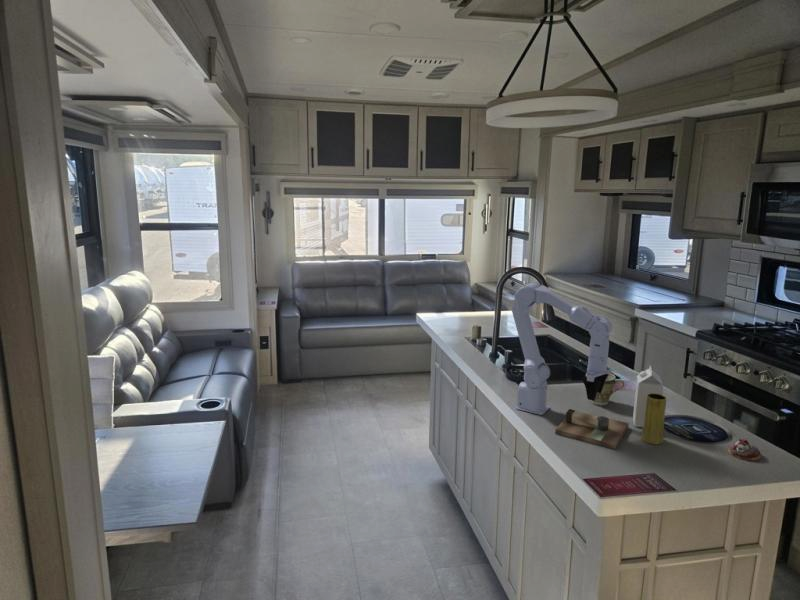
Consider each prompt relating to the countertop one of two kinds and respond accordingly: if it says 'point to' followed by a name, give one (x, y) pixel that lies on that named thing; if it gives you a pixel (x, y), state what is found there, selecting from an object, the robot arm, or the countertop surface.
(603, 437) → the wooden board
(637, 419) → the milk carton
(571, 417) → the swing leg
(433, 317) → the countertop surface
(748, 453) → the pastry
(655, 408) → the vase
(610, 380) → the ceramic cup
